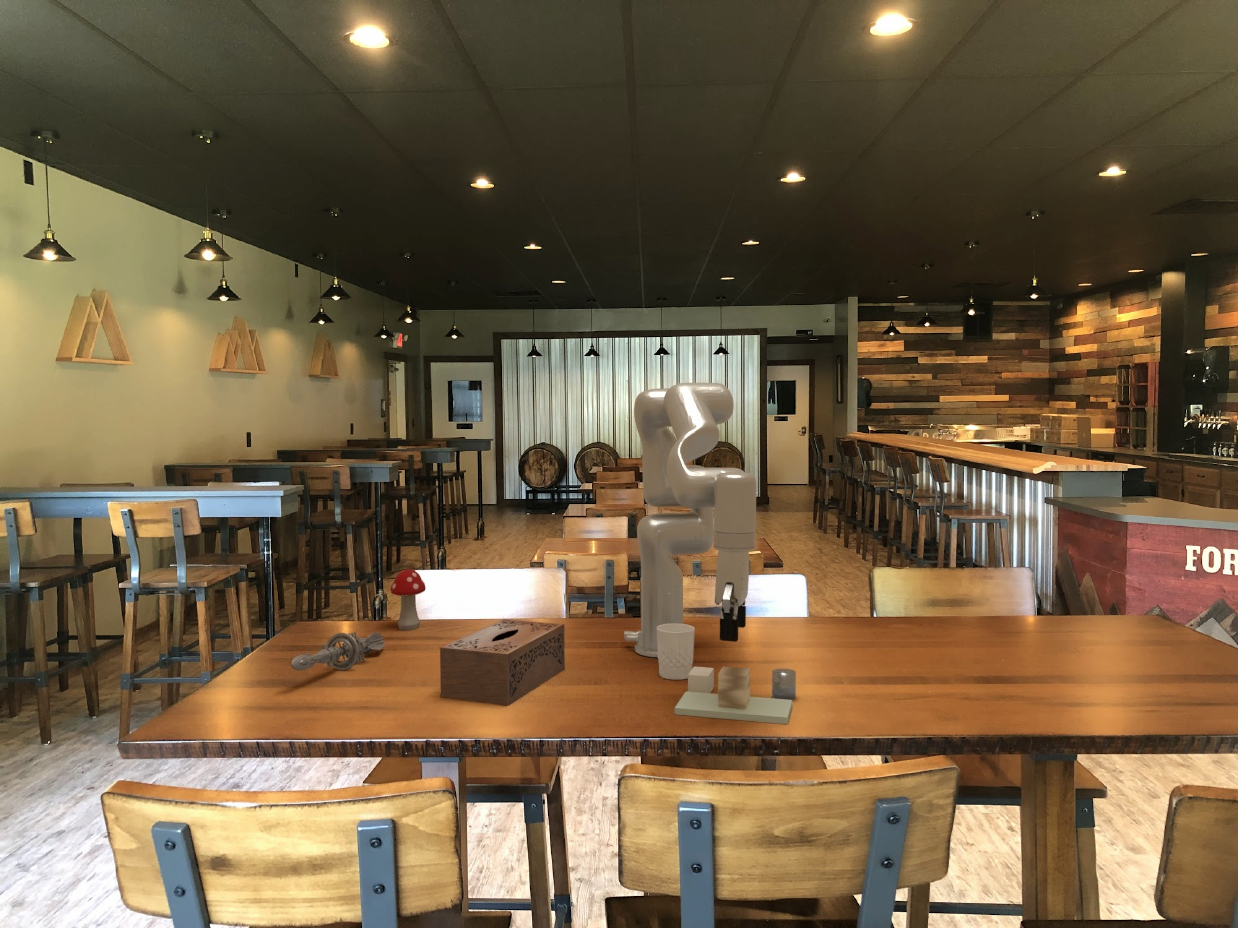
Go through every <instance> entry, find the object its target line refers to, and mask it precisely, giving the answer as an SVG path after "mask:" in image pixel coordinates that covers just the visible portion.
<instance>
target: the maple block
mask: <svg viewBox="0 0 1238 928" xmlns="http://www.w3.org/2000/svg"><path fill="white" fill-rule="evenodd" d="M717 677H718V682H717V683H718V684H717V686H718V688H717V689H718V691H717V692H718V693H717V694H718V707H725V708H737V709H746V708H747V706H748V704H749V702H750V697H751V669H750V668H748V667H747V668H746V667H734V666H733V667H731V666H722V668H721V669H720V671H719V672H718V675H717Z"/></svg>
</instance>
